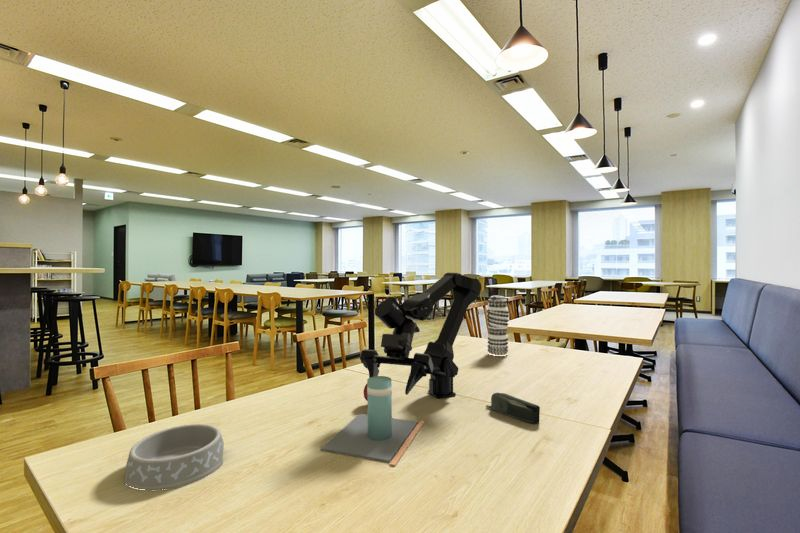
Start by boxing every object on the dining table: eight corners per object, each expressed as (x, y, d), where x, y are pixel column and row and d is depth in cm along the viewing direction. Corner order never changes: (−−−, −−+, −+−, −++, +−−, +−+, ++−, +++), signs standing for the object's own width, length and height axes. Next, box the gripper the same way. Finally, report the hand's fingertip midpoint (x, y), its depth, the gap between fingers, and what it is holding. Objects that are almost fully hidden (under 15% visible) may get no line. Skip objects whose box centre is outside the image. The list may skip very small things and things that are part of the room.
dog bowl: (115, 502, 68) (114, 471, 68) (137, 454, 85) (137, 429, 85) (223, 479, 75) (223, 451, 75) (224, 439, 92) (223, 416, 92)
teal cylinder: (386, 428, 96) (386, 374, 96) (395, 437, 91) (395, 381, 90) (364, 432, 94) (363, 377, 93) (372, 442, 88) (371, 384, 88)
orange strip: (420, 421, 100) (420, 420, 100) (424, 422, 100) (424, 421, 100) (389, 465, 79) (389, 463, 79) (395, 466, 79) (395, 464, 79)
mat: (417, 423, 99) (417, 421, 99) (389, 462, 81) (389, 460, 81) (359, 415, 105) (359, 413, 105) (320, 450, 86) (320, 448, 86)
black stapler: (541, 404, 100) (491, 388, 111) (535, 407, 98) (484, 390, 109) (540, 423, 100) (490, 405, 111) (534, 427, 98) (484, 408, 109)
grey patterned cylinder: (487, 356, 165) (487, 297, 165) (486, 351, 174) (486, 294, 174) (509, 357, 164) (510, 297, 163) (507, 352, 173) (507, 295, 172)
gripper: (361, 319, 105) (343, 372, 94) (430, 322, 99) (418, 379, 88) (373, 342, 112) (357, 393, 102) (437, 346, 106) (427, 401, 96)
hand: (388, 391), depth 97 cm, fingers open, 9 cm apart
